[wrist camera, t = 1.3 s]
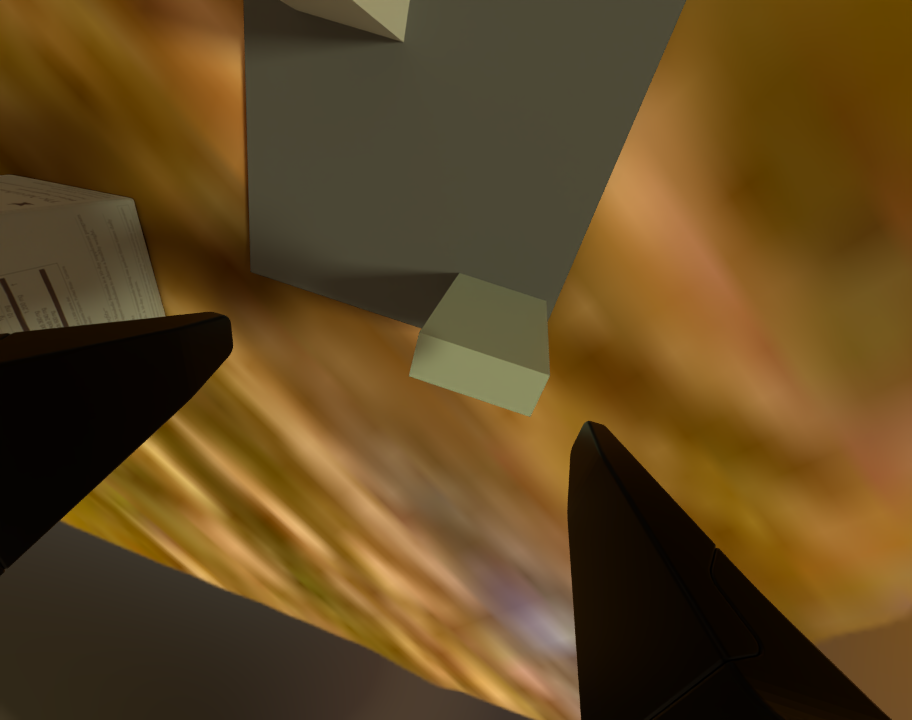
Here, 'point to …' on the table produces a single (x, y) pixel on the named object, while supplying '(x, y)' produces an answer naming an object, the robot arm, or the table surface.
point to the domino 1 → (360, 14)
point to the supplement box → (71, 258)
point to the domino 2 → (486, 345)
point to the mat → (439, 143)
